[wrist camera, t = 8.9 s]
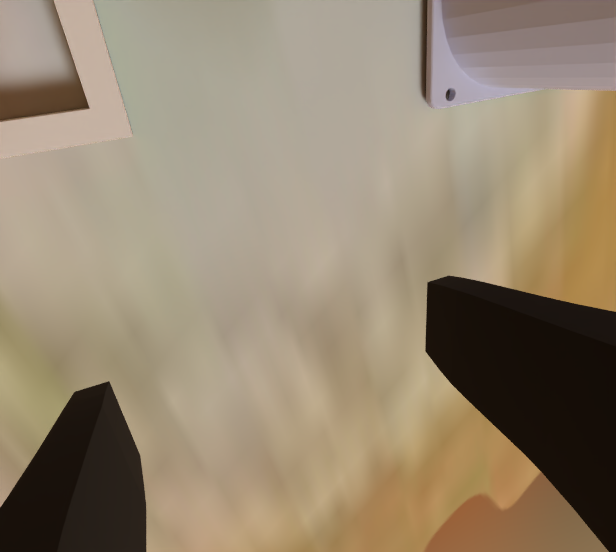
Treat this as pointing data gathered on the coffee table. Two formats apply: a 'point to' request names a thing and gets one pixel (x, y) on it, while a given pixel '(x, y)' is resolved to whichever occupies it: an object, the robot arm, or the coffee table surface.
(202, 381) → the coffee table surface
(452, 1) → the robot arm
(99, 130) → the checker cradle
